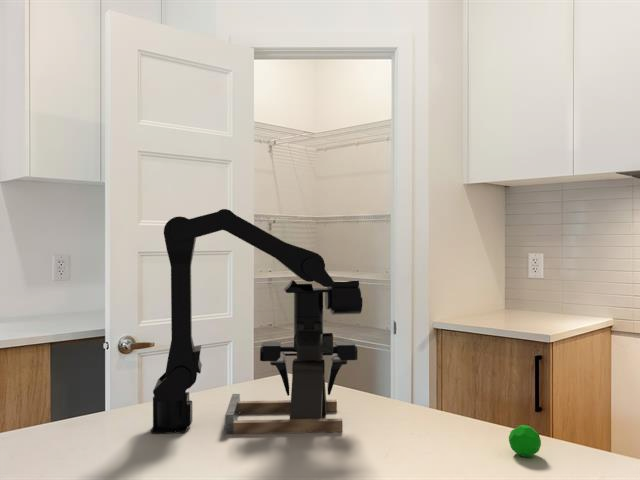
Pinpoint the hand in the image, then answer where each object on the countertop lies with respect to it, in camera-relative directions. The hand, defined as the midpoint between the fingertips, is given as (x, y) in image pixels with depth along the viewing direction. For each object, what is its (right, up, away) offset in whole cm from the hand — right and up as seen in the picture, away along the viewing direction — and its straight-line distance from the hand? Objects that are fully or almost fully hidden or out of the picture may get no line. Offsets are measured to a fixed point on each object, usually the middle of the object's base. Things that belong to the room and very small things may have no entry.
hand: (308, 394), depth 114 cm
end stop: (-15, -5, -1) cm, 16 cm away
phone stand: (0, -5, 0) cm, 5 cm away
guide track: (-5, -5, 0) cm, 7 cm away
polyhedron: (+36, -5, -18) cm, 41 cm away
